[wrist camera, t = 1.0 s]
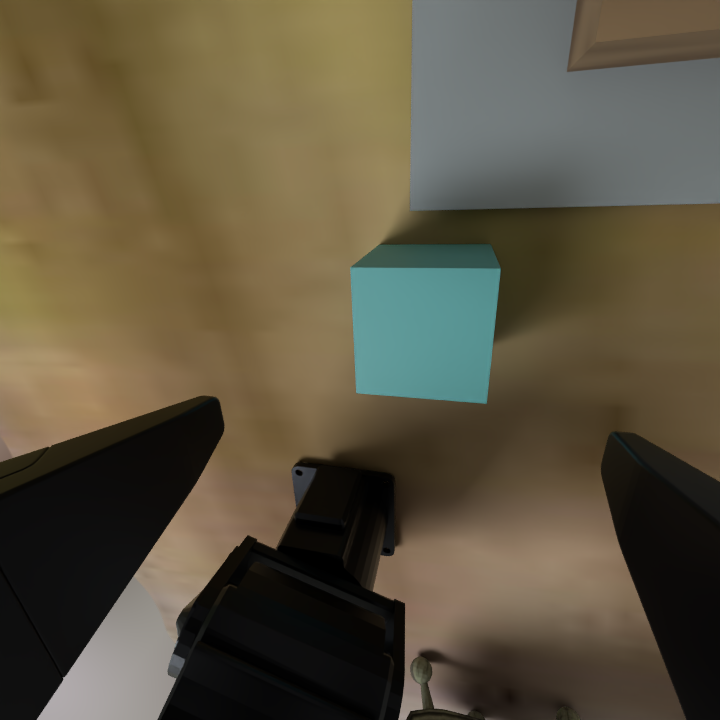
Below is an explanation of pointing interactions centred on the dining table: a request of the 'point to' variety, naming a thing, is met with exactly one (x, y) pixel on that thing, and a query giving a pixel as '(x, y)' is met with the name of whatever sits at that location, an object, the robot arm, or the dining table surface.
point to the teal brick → (425, 320)
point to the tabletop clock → (429, 716)
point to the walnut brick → (643, 32)
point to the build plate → (550, 116)
